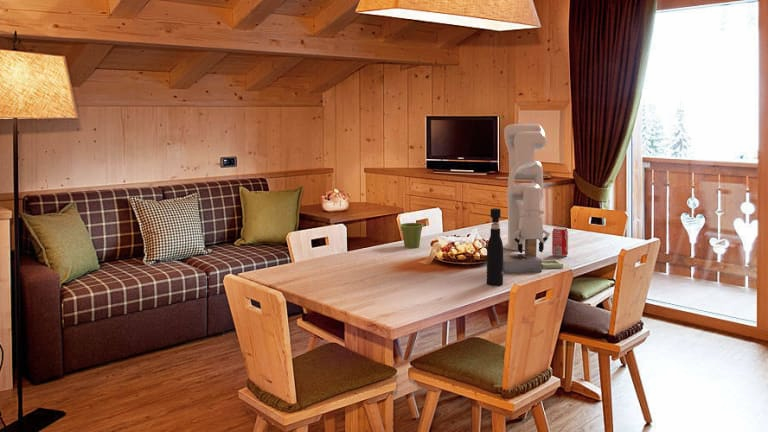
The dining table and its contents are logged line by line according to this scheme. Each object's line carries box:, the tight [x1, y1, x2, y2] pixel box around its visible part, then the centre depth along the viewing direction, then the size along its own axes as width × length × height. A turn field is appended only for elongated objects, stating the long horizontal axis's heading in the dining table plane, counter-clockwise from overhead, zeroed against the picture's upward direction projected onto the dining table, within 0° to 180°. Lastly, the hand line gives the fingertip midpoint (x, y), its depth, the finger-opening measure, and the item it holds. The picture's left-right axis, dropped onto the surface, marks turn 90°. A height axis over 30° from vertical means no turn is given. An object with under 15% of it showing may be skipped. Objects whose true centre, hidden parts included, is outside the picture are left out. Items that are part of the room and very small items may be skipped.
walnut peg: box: [524, 239, 538, 257], centre depth 334 cm, size 4×4×16 cm
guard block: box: [503, 253, 543, 274], centre depth 323 cm, size 14×16×5 cm
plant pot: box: [399, 222, 424, 249], centre depth 373 cm, size 12×12×11 cm
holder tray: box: [541, 259, 564, 270], centre depth 328 cm, size 9×9×2 cm
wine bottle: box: [486, 207, 504, 287], centre depth 296 cm, size 6×6×30 cm
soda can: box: [551, 226, 569, 258], centre depth 348 cm, size 7×7×13 cm
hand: (530, 252), depth 335 cm, fingers open, 8 cm apart
